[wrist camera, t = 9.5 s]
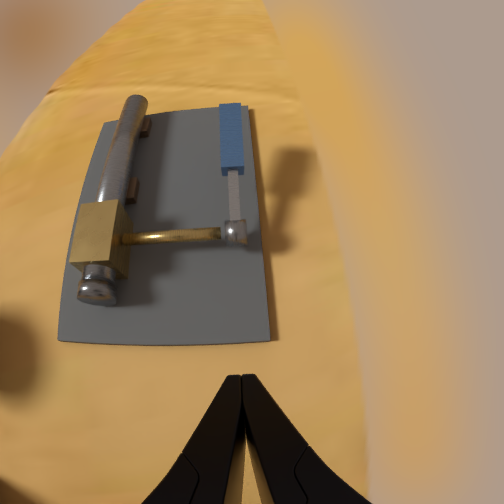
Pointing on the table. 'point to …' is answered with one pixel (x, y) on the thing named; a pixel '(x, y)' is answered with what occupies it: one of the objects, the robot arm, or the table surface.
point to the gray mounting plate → (177, 245)
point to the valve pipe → (118, 215)
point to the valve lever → (232, 169)
